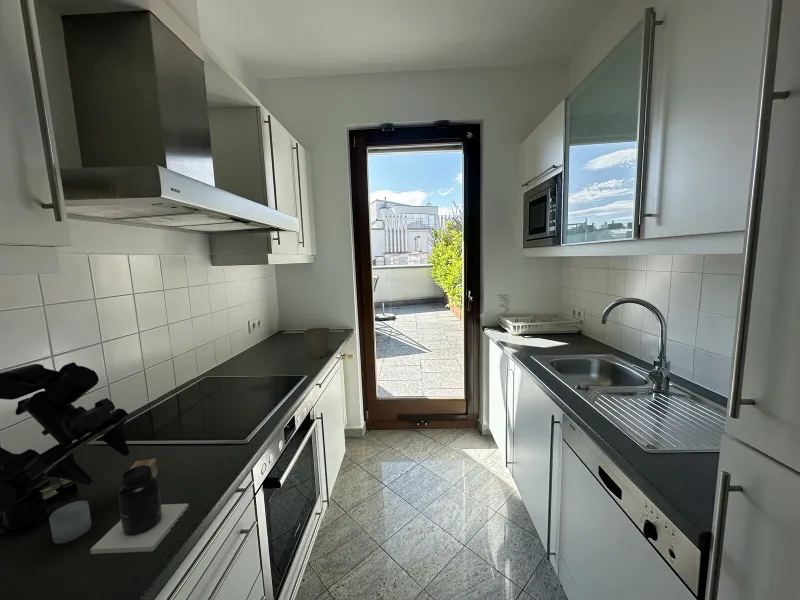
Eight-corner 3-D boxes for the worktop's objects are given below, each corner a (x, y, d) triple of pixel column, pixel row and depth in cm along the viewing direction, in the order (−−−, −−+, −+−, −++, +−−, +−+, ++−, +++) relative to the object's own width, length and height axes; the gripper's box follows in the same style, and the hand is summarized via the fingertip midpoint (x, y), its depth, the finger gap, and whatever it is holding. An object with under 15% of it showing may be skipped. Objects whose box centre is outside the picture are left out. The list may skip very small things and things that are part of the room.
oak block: (130, 487, 88) (127, 471, 87) (138, 477, 92) (136, 461, 92) (150, 484, 89) (148, 467, 88) (157, 474, 93) (155, 458, 93)
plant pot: (334, 353, 208) (332, 327, 207) (327, 360, 194) (326, 332, 192) (309, 353, 209) (307, 327, 207) (301, 360, 194) (299, 332, 192)
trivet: (91, 553, 68) (90, 549, 68) (136, 509, 80) (135, 505, 80) (153, 551, 68) (152, 546, 68) (189, 507, 80) (188, 503, 80)
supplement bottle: (115, 539, 70) (107, 484, 68) (134, 515, 77) (127, 464, 75) (152, 533, 71) (145, 479, 70) (168, 510, 78) (162, 459, 76)
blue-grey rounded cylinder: (44, 544, 71) (40, 521, 70) (71, 522, 77) (68, 501, 76) (73, 543, 71) (70, 520, 70) (99, 521, 77) (95, 500, 76)
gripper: (33, 418, 63) (94, 479, 65) (119, 376, 82) (165, 425, 84) (-4, 450, 65) (57, 508, 67) (89, 401, 83) (135, 449, 85)
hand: (110, 468), depth 76 cm, fingers open, 9 cm apart
